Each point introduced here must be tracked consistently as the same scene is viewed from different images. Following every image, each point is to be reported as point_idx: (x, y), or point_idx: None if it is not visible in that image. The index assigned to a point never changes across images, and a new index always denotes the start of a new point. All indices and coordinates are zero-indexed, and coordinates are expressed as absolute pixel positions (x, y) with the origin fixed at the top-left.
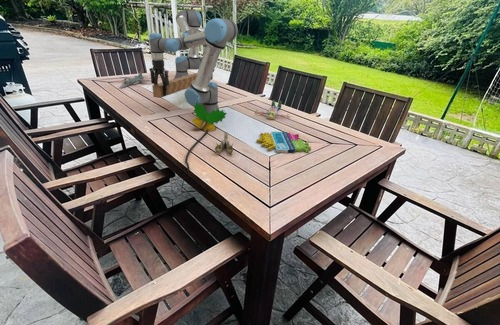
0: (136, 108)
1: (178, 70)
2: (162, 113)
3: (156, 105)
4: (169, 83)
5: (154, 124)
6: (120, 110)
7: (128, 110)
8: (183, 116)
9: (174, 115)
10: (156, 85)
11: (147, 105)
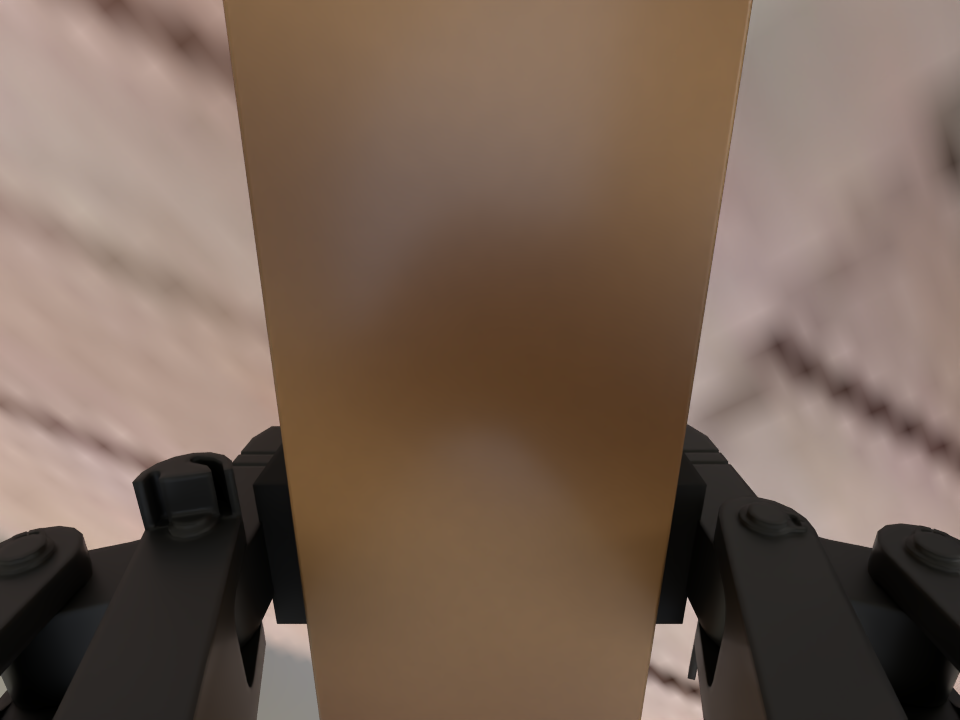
0: (104, 382)
1: None
2: None
3: (202, 102)
4: (732, 74)
5: (655, 662)
6: (37, 526)
7: (104, 486)
8: (855, 341)
9: (722, 366)
10: None
11: (94, 185)
